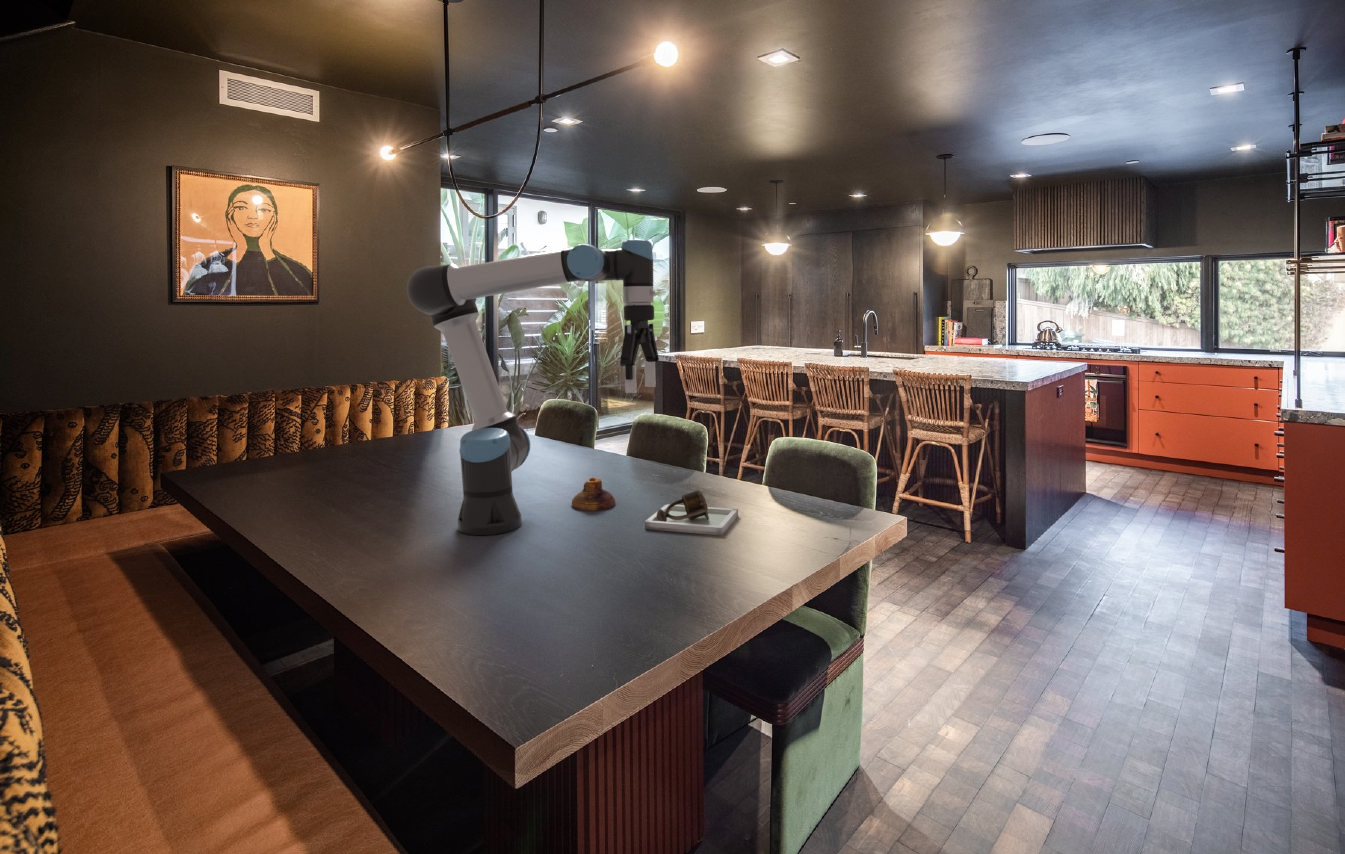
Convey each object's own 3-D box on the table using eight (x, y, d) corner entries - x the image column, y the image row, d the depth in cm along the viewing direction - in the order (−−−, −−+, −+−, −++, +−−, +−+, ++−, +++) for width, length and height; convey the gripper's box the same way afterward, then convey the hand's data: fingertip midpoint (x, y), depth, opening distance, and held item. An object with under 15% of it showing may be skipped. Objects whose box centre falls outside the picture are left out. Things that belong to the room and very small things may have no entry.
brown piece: (708, 505, 167) (713, 485, 176) (655, 498, 169) (662, 480, 178) (706, 531, 170) (711, 511, 179) (654, 525, 171) (661, 505, 181)
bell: (598, 513, 184) (597, 486, 183) (562, 507, 190) (561, 481, 189) (624, 503, 194) (623, 477, 193) (589, 497, 200) (588, 472, 199)
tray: (644, 528, 170) (644, 521, 170) (666, 510, 185) (666, 503, 185) (722, 535, 164) (721, 527, 164) (738, 516, 179) (738, 509, 179)
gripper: (634, 304, 163) (636, 395, 167) (669, 304, 187) (670, 384, 190) (604, 304, 166) (607, 395, 169) (642, 304, 189) (644, 384, 193)
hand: (641, 389), depth 180 cm, fingers open, 13 cm apart
